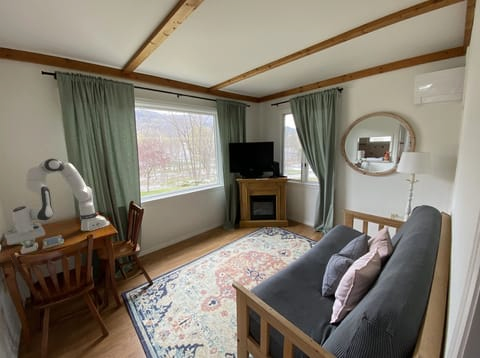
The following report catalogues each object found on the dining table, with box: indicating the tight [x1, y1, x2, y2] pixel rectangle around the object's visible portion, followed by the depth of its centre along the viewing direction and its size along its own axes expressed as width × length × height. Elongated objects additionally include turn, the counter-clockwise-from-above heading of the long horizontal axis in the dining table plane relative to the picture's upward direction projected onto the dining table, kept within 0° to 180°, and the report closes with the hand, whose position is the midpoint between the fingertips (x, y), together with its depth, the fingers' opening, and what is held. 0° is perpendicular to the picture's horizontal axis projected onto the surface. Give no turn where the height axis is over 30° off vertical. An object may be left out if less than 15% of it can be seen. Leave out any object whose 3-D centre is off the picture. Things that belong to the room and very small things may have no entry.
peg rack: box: [42, 237, 65, 250], centre depth 163 cm, size 12×8×5 cm, turn 127°
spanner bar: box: [42, 234, 63, 245], centre depth 163 cm, size 11×4×4 cm, turn 127°
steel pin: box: [25, 239, 32, 248], centre depth 155 cm, size 3×3×8 cm
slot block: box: [20, 242, 39, 255], centre depth 156 cm, size 8×8×3 cm
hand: (29, 245), depth 156 cm, fingers closed on steel pin, 3 cm apart
